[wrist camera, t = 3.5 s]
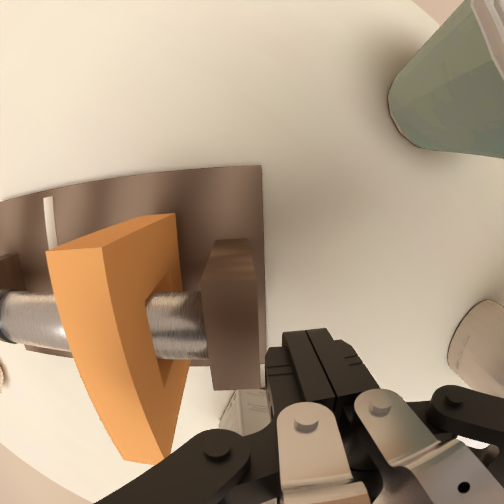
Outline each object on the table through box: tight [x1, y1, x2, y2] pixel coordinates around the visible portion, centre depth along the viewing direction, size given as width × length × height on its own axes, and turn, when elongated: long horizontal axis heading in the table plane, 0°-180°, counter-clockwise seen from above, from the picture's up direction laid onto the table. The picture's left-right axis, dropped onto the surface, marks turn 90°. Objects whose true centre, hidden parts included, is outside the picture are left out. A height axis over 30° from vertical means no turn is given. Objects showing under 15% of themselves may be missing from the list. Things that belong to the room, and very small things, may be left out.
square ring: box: [45, 213, 191, 465], centre depth 12 cm, size 2×9×9 cm, turn 2°
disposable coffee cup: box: [388, 0, 504, 159], centre depth 10 cm, size 11×11×15 cm
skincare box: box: [219, 389, 276, 504], centre depth 16 cm, size 8×6×15 cm
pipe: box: [0, 289, 209, 359], centre depth 11 cm, size 21×3×3 cm, turn 92°
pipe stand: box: [0, 165, 266, 390], centre depth 14 cm, size 23×14×10 cm, turn 92°
